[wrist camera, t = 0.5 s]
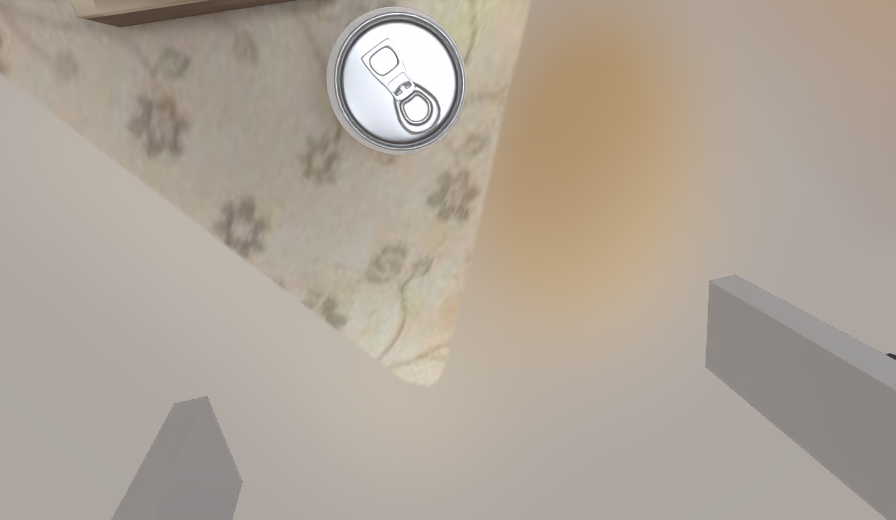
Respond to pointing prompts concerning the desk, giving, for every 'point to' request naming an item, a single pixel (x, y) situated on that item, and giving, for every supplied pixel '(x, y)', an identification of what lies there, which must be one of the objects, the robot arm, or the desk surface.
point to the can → (396, 80)
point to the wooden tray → (155, 9)
